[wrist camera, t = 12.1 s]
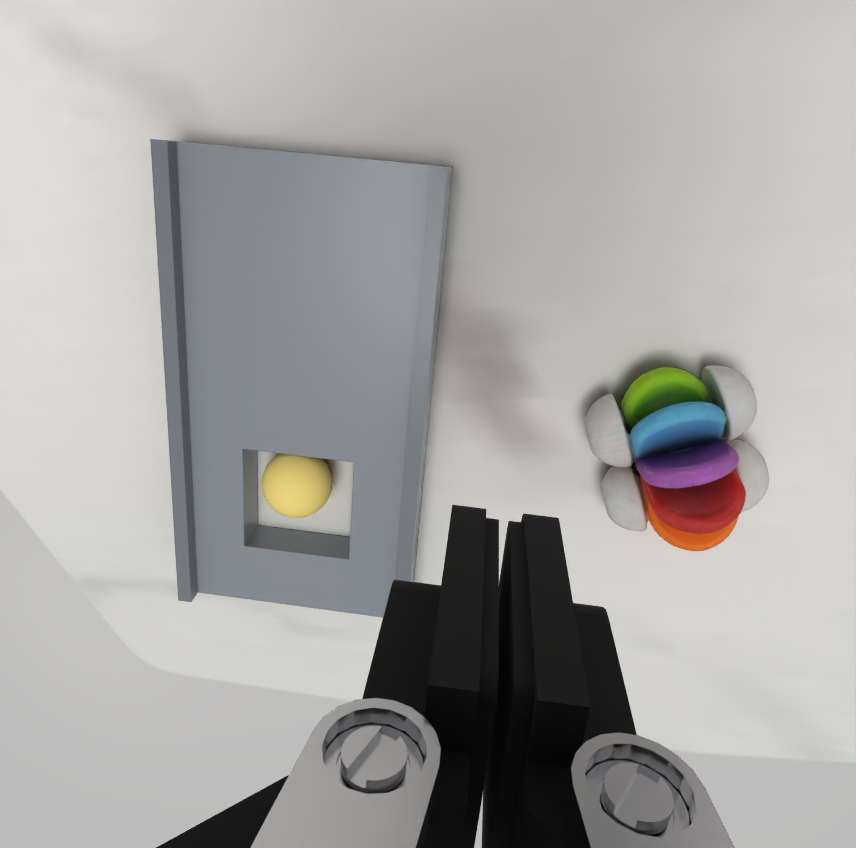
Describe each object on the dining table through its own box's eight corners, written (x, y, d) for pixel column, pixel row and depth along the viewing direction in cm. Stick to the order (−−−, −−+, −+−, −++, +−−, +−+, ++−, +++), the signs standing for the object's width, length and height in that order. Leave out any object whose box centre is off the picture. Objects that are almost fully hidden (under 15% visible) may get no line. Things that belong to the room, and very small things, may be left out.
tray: (183, 141, 35) (150, 139, 31) (452, 166, 34) (447, 167, 31) (201, 568, 44) (178, 600, 41) (412, 596, 43) (405, 631, 40)
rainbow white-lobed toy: (609, 526, 40) (631, 598, 34) (572, 377, 37) (588, 424, 31) (756, 494, 39) (810, 564, 32) (731, 336, 36) (784, 376, 29)
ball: (277, 445, 41) (257, 444, 37) (341, 452, 41) (328, 452, 37) (269, 510, 41) (248, 516, 37) (333, 518, 41) (320, 524, 37)
